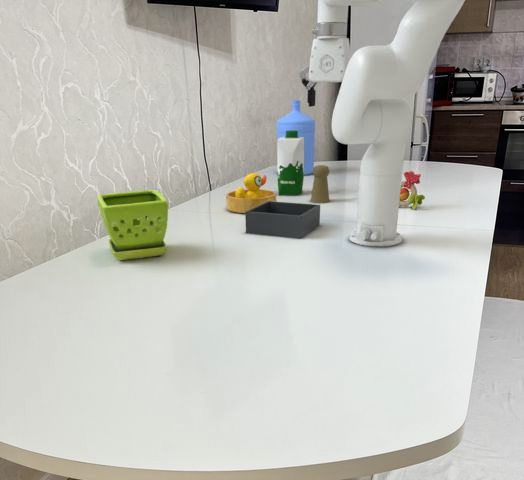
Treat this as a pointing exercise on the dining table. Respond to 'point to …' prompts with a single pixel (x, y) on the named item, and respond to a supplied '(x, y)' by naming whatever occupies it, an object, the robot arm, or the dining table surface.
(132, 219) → the flower pot
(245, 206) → the bowl
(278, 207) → the bin
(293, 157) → the milk carton
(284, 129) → the water jug
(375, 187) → the robot arm
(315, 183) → the cork
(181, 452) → the dining table surface
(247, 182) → the duckling
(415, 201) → the bird rattle
